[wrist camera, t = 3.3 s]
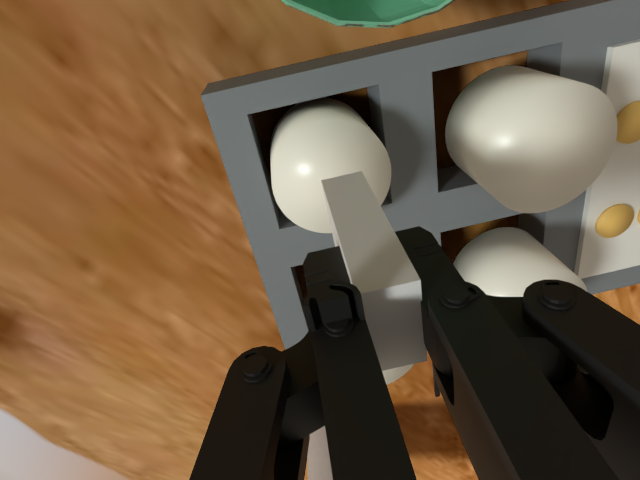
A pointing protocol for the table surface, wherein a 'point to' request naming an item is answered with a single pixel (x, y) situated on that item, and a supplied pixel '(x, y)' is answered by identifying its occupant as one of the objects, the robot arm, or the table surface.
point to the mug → (368, 11)
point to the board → (420, 145)
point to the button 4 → (531, 136)
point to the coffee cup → (319, 456)
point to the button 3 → (509, 263)
